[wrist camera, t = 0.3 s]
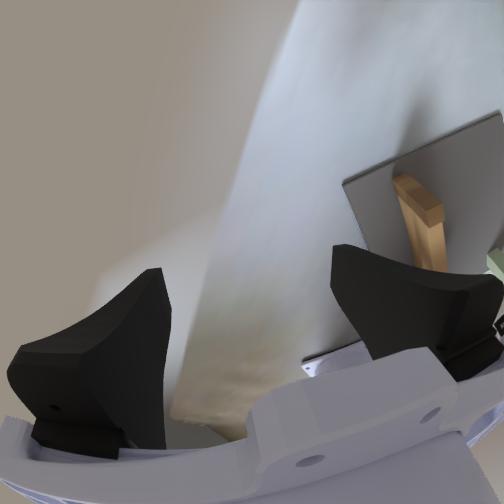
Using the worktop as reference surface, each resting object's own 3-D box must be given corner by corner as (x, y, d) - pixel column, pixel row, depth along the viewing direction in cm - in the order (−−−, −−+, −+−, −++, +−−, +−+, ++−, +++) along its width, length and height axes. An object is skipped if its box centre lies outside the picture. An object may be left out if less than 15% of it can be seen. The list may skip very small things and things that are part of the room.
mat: (507, 255, 21) (508, 256, 21) (391, 319, 26) (392, 322, 25) (499, 113, 13) (501, 114, 13) (341, 185, 18) (343, 186, 18)
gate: (427, 268, 21) (452, 306, 17) (416, 274, 22) (439, 313, 18) (405, 172, 17) (442, 202, 13) (391, 179, 17) (425, 211, 13)
